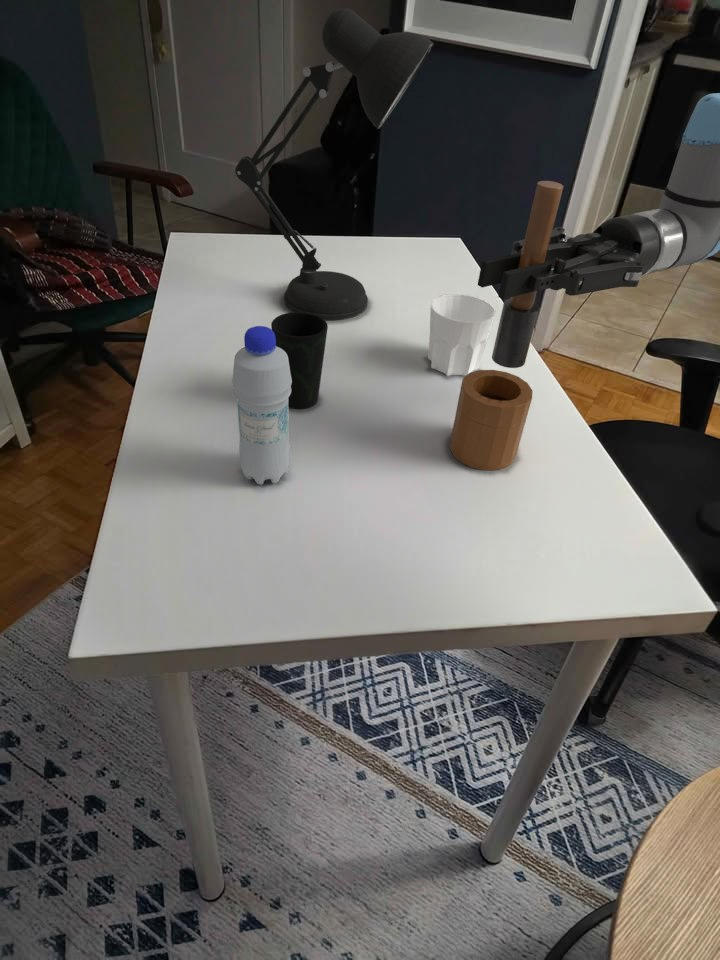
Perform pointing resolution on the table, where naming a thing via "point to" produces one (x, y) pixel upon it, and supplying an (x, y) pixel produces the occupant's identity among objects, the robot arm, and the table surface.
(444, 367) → the cup
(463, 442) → the wooden hollow tube
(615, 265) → the robot arm
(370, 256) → the table surface
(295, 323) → the cup
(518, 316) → the wooden handled pestle
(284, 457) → the bottle
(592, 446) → the table surface
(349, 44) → the desk lamp
